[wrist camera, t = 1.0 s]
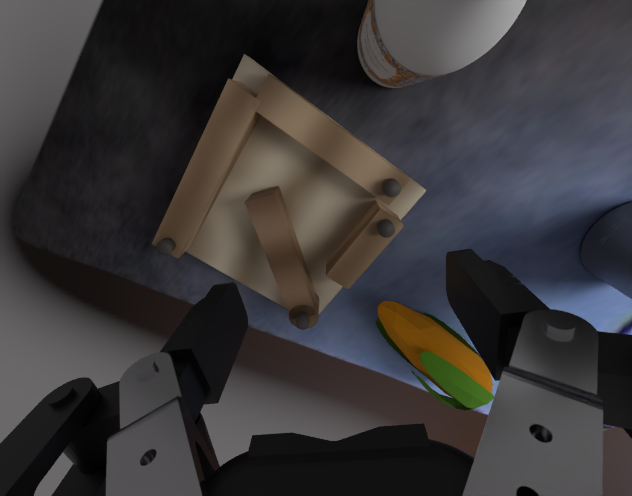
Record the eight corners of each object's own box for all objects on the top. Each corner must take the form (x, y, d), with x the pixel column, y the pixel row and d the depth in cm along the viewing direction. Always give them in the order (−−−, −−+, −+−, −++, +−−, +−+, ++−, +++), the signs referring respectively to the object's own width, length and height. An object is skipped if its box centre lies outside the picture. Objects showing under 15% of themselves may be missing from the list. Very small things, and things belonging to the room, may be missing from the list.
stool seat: (420, 185, 30) (440, 202, 25) (312, 312, 38) (309, 346, 32) (250, 57, 26) (228, 44, 20) (167, 229, 33) (136, 252, 28)
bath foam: (341, 25, 25) (371, -202, 7) (420, -32, 23) (758, -566, 5) (378, 104, 27) (472, 96, 9) (451, 58, 25) (754, -69, 7)
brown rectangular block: (322, 308, 35) (321, 333, 31) (296, 313, 35) (292, 338, 31) (280, 185, 28) (273, 197, 25) (250, 193, 29) (238, 206, 25)
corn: (472, 439, 35) (356, 351, 30) (446, 387, 42) (348, 308, 37) (526, 407, 33) (412, 306, 28) (489, 358, 40) (392, 270, 35)
